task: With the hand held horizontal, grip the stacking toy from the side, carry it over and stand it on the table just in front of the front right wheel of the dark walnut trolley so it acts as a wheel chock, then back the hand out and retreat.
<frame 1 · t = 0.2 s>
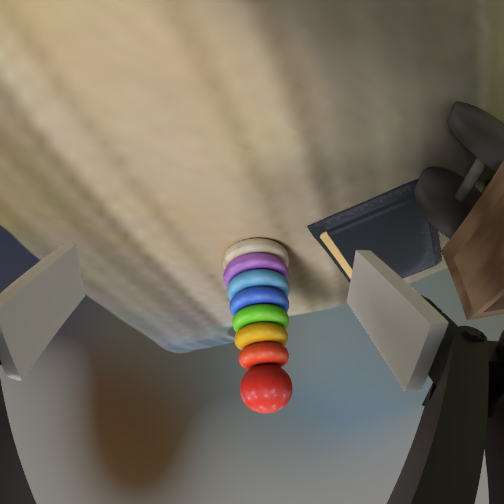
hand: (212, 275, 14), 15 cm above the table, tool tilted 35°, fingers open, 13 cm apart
stacking toy: (255, 254, 39), on the table
dark navy book: (385, 241, 39), on the table
trolley: (484, 152, 26), on the table
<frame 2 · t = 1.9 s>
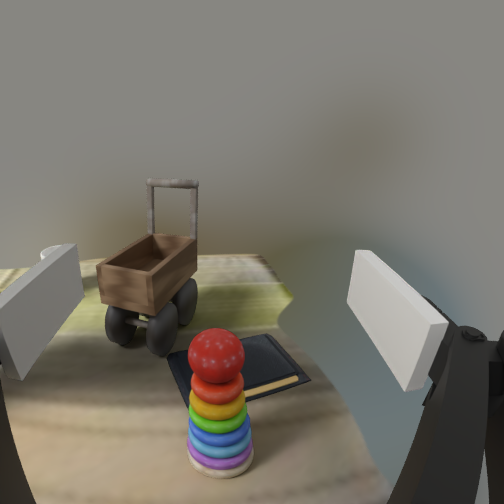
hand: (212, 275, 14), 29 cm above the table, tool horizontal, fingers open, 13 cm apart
stacking toy: (220, 456, 33), on the table
dark navy book: (235, 373, 49), on the table
trolley: (157, 330, 57), on the table
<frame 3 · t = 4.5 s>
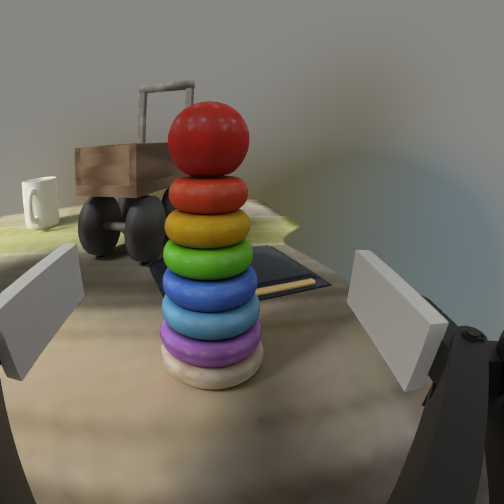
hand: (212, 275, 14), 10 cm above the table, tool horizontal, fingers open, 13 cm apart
cup: (40, 228, 57), on the table
stacking toy: (212, 362, 24), on the table
dark navy book: (234, 280, 40), on the table
trolley: (141, 246, 48), on the table
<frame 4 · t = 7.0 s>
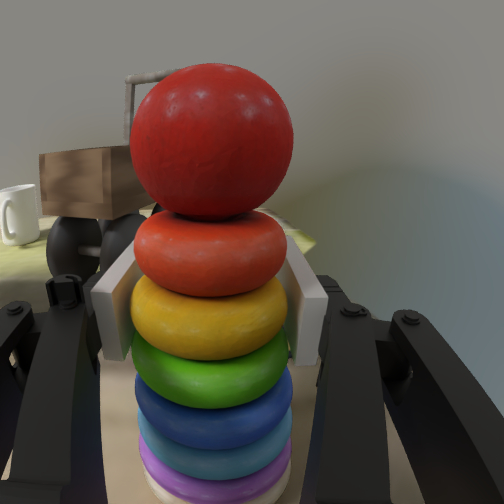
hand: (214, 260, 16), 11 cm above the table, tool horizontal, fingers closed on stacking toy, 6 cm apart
cup: (18, 243, 48), on the table
stacking toy: (216, 470, 15), on the table, touching gripper
trolley: (127, 272, 39), on the table
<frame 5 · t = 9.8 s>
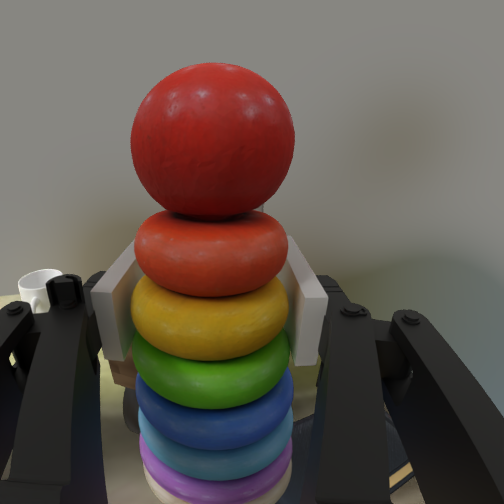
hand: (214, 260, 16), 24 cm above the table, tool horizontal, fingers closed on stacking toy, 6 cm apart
cup: (51, 338, 44), on the table
stacking toy: (217, 471, 15), point 13 cm above the table, touching gripper
dark navy book: (335, 464, 28), on the table
trolley: (201, 402, 36), on the table
when the fingers open (11 cm above the table, at t = 12.8 s): stacking toy drops 1 cm, on the table.
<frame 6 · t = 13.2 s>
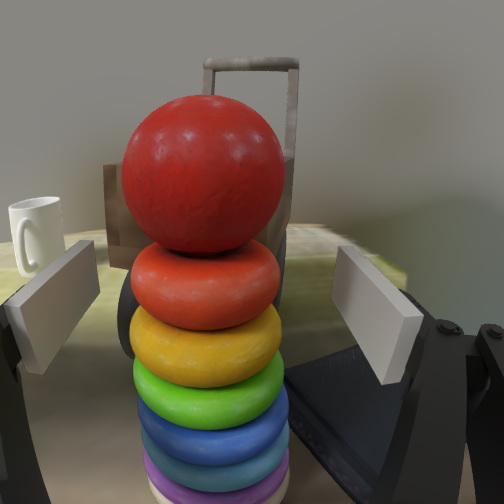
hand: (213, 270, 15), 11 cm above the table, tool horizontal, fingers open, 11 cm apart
cup: (40, 275, 38), on the table
stacking toy: (218, 479, 15), on the table
dark navy book: (400, 399, 22), on the table
trolley: (220, 331, 30), on the table
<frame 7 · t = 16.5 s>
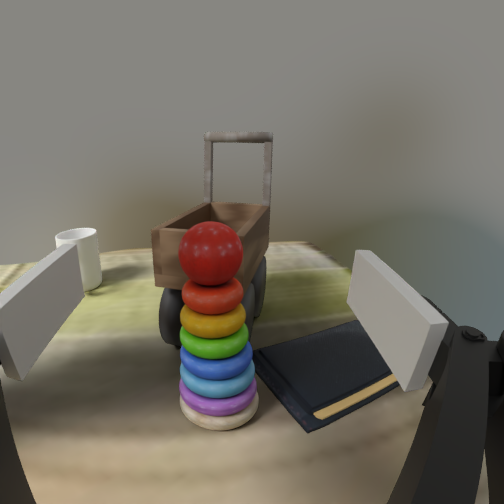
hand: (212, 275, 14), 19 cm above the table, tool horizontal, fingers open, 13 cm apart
cup: (81, 288, 54), on the table
stacking toy: (219, 407, 30), on the table
dark navy book: (338, 369, 37), on the table
trolley: (221, 325, 45), on the table
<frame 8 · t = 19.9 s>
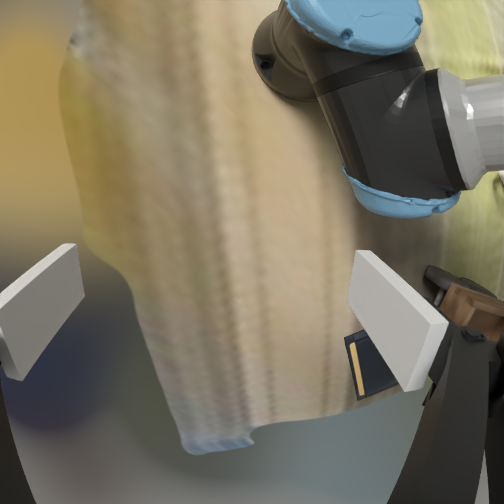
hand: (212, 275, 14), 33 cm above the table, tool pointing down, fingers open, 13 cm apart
cup: (503, 168, 47), on the table
dark navy book: (382, 356, 59), on the table
trolley: (442, 294, 54), on the table
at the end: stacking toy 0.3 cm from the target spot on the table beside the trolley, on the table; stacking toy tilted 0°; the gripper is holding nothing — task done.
